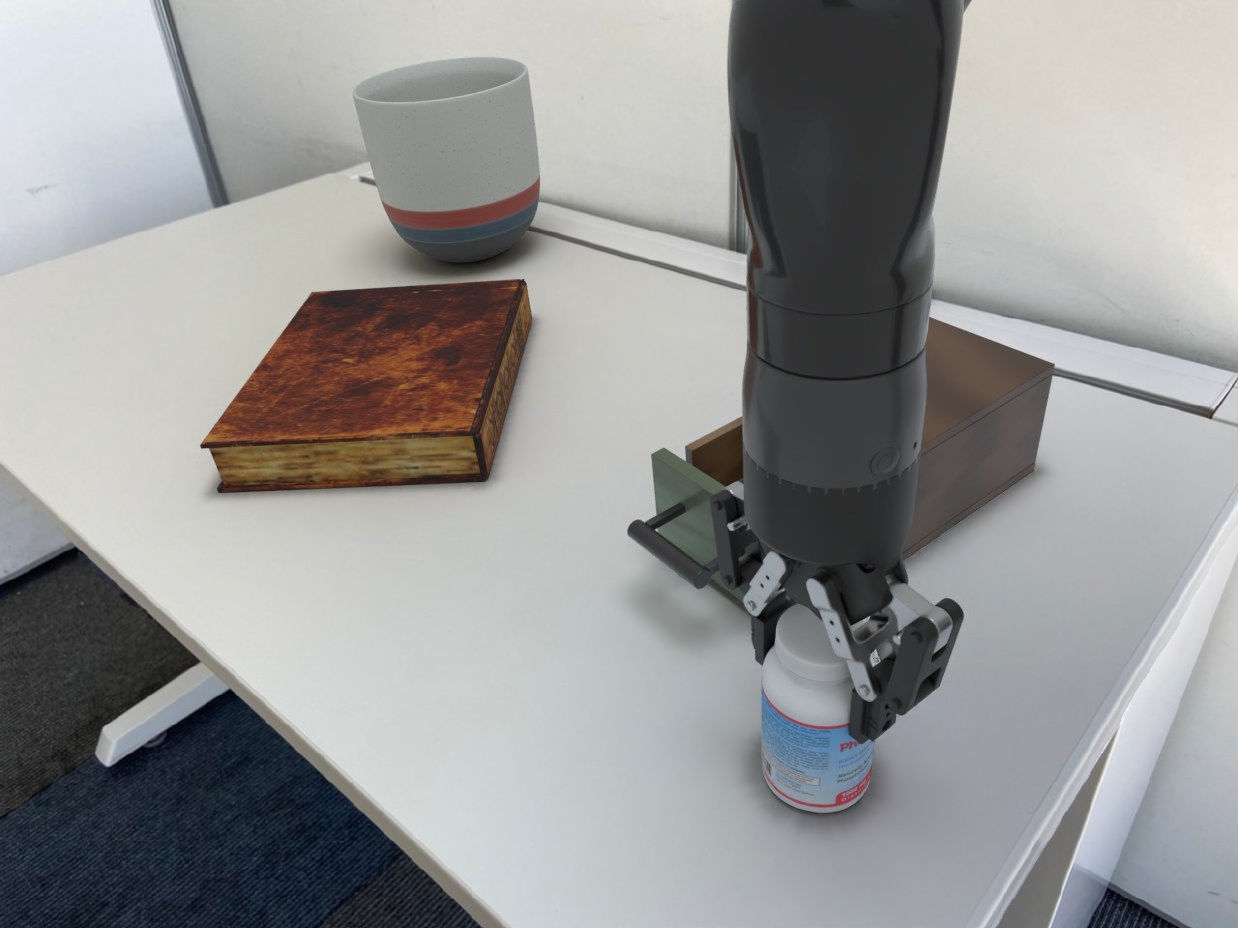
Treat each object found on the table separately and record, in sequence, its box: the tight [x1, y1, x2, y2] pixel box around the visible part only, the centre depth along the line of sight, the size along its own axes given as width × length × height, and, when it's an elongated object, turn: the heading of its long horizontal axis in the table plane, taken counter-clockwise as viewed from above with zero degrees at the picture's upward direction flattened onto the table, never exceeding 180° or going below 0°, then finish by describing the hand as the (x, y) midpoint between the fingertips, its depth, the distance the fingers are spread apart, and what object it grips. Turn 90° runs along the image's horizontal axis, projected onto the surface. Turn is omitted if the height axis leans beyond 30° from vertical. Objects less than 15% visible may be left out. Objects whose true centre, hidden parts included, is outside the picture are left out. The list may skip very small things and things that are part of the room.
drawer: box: [626, 415, 791, 604], centre depth 66 cm, size 20×12×8 cm, turn 127°
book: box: [199, 278, 533, 493], centre depth 92 cm, size 30×24×5 cm
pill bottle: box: [760, 603, 877, 814], centre depth 51 cm, size 6×6×11 cm
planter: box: [351, 56, 541, 264], centre depth 116 cm, size 20×20×21 cm
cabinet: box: [902, 316, 1056, 561], centre depth 73 cm, size 17×14×10 cm
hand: (818, 692), depth 50 cm, fingers closed on pill bottle, 6 cm apart
